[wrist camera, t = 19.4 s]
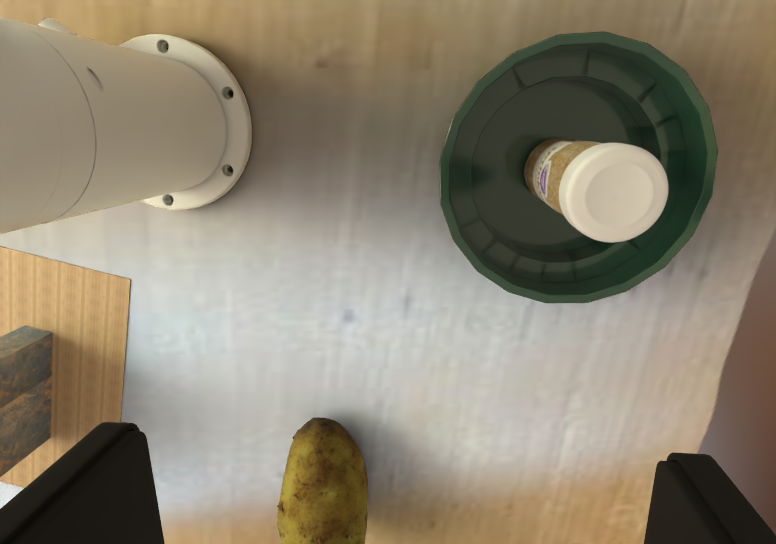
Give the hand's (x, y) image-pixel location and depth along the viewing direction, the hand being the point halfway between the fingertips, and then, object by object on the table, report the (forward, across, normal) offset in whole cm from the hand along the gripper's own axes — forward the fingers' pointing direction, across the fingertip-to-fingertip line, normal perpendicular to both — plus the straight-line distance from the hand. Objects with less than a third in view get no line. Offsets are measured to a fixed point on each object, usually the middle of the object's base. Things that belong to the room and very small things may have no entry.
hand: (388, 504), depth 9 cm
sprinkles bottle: (+30, -9, -4) cm, 31 cm away
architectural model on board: (+31, +36, +16) cm, 50 cm away
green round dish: (+30, -9, -4) cm, 32 cm away
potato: (+31, +8, +24) cm, 39 cm away
